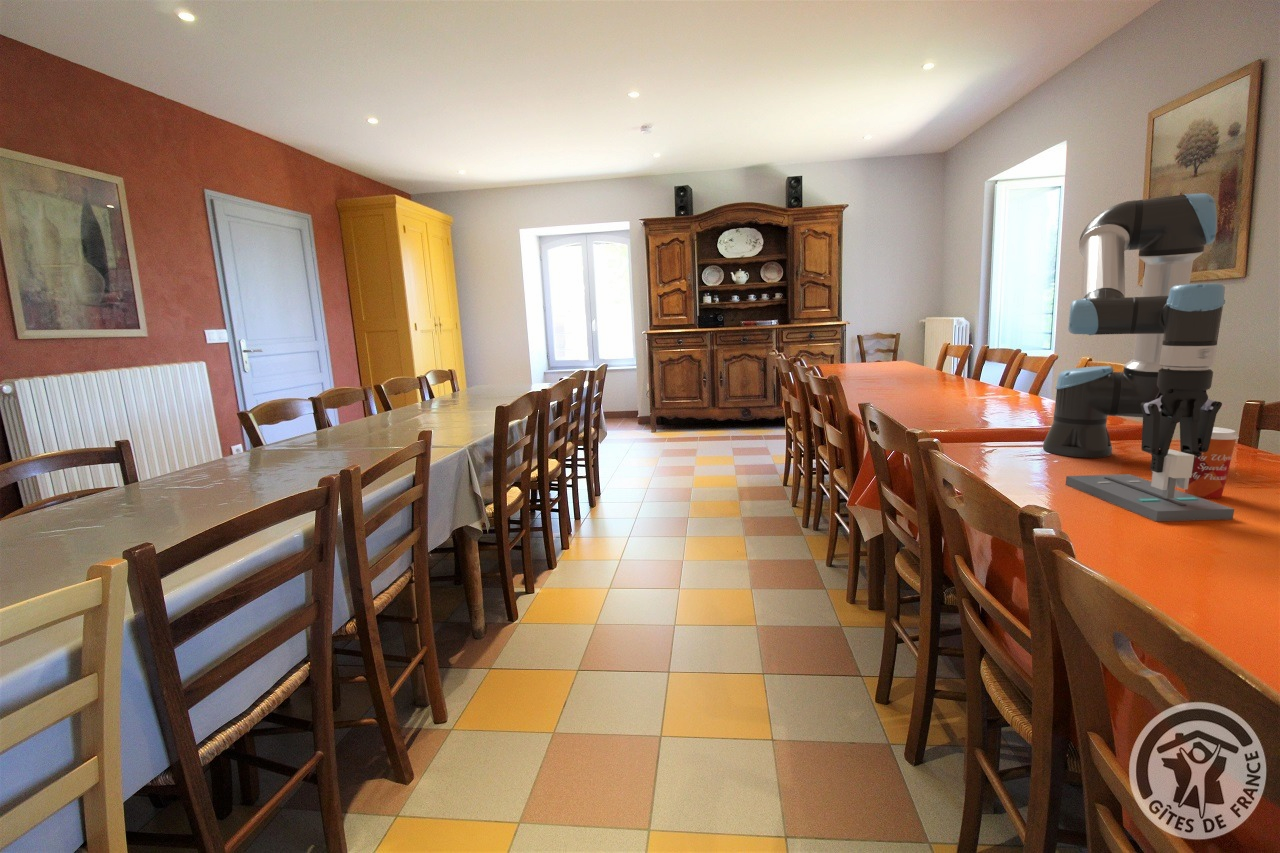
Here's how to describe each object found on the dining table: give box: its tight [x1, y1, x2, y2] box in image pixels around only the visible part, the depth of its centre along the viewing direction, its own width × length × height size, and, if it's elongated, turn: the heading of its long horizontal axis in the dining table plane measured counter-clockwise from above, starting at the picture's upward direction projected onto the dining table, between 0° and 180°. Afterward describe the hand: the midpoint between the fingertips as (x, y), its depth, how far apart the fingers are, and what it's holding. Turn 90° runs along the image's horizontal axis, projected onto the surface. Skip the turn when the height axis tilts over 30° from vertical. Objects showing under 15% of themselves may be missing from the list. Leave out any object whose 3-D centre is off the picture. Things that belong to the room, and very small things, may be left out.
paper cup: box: [1184, 426, 1240, 499], centre depth 120 cm, size 8×8×14 cm
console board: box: [1065, 473, 1235, 522], centre depth 119 cm, size 24×14×2 cm, turn 179°
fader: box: [1151, 448, 1194, 499], centre depth 112 cm, size 5×3×9 cm, turn 179°
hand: (1169, 487), depth 112 cm, fingers closed on fader, 3 cm apart
